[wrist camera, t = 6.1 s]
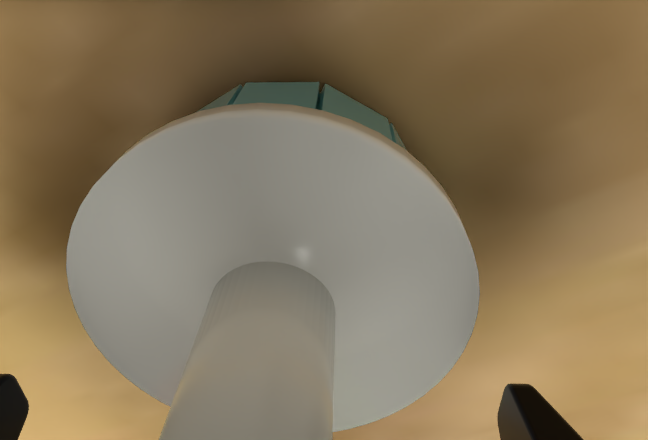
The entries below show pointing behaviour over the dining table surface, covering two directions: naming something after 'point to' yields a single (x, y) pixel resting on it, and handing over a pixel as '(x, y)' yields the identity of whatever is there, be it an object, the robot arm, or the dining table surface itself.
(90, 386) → the dining table surface
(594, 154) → the dining table surface
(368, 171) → the lid
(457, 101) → the dining table surface
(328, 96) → the bowl
